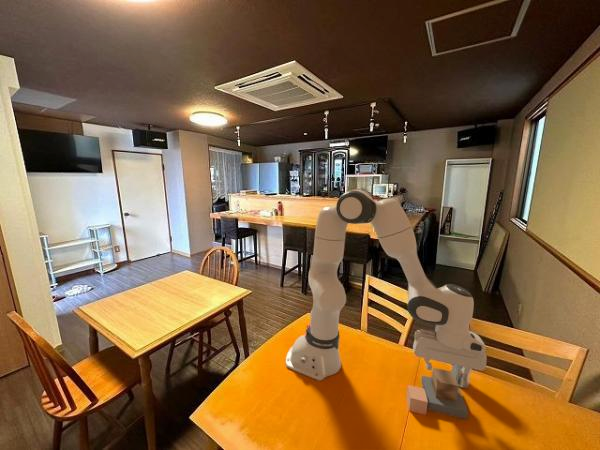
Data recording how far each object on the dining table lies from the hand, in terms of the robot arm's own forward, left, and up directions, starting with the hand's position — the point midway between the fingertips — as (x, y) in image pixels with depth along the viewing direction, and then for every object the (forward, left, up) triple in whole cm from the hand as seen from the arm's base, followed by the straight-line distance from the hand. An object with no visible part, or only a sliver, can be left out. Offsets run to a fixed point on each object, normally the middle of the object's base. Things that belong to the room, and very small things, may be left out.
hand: (444, 372), depth 79 cm
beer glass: (+9, +10, -11) cm, 17 cm away
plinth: (+1, 0, -11) cm, 11 cm away
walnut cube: (+1, +1, -8) cm, 8 cm away
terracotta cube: (-8, -5, -11) cm, 15 cm away
